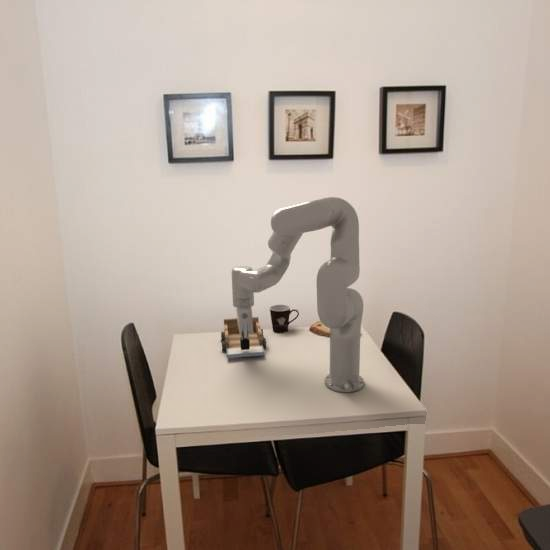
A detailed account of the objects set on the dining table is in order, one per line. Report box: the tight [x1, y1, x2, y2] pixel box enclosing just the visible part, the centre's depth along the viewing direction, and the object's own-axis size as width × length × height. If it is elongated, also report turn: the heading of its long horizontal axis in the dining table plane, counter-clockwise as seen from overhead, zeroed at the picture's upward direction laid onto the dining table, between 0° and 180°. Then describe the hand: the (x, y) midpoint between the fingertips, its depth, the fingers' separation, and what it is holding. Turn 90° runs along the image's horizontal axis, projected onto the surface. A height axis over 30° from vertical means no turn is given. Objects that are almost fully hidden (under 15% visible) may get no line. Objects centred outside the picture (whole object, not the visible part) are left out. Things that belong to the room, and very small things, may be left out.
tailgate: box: [226, 346, 266, 359], centre depth 174 cm, size 1×14×6 cm
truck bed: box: [220, 316, 267, 354], centre depth 185 cm, size 16×17×8 cm
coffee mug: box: [269, 304, 300, 334], centre depth 198 cm, size 12×9×10 cm
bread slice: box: [308, 319, 330, 338], centre depth 196 cm, size 18×18×4 cm
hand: (245, 348), depth 172 cm, fingers closed
